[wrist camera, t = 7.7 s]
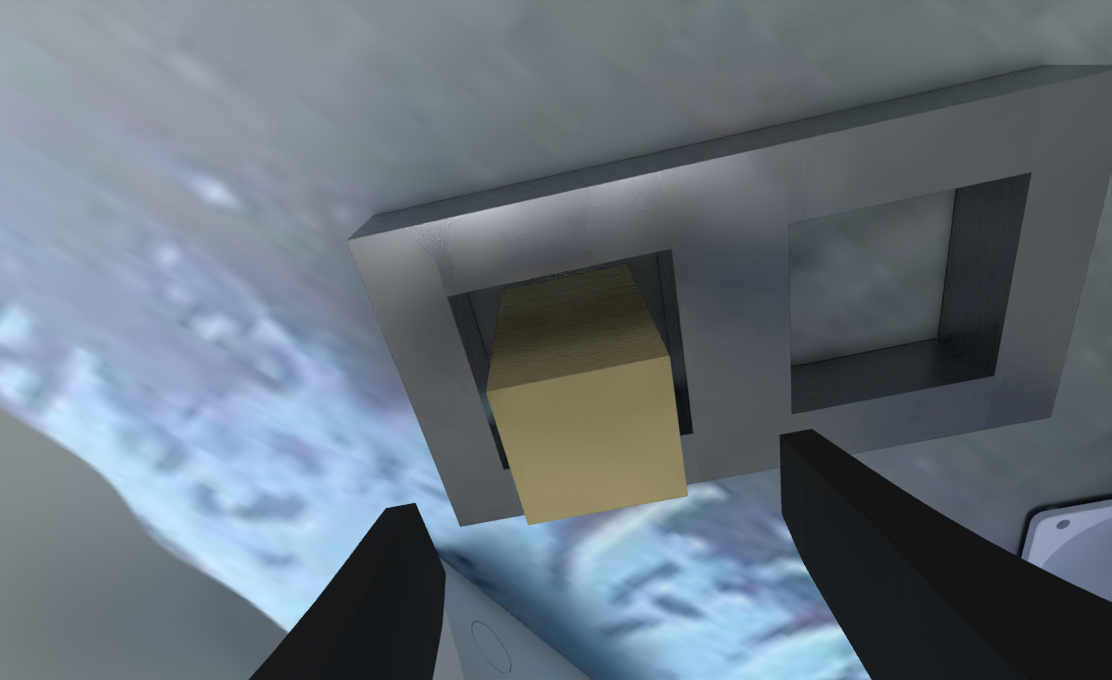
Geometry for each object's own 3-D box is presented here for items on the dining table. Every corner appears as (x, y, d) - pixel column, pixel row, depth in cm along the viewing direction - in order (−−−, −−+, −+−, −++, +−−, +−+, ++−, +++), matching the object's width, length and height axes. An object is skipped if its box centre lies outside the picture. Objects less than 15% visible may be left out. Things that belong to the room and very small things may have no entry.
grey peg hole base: (1046, 65, 15) (1137, 64, 12) (990, 376, 19) (1050, 417, 17) (372, 216, 16) (346, 240, 14) (468, 476, 20) (460, 526, 18)
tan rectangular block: (643, 372, 19) (687, 496, 13) (529, 394, 19) (528, 524, 14) (626, 263, 17) (669, 355, 11) (501, 290, 17) (486, 391, 12)
